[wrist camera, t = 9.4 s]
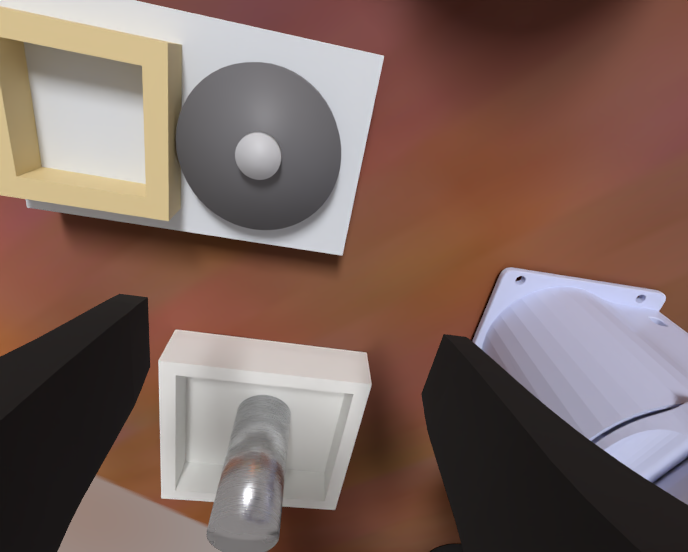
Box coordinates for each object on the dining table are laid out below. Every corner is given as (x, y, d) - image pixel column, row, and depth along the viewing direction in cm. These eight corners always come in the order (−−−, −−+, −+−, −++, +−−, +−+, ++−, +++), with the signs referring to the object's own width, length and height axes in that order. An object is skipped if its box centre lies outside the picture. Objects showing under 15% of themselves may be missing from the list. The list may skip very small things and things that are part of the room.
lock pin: (289, 394, 24) (276, 513, 18) (291, 432, 25) (280, 554, 19) (234, 395, 24) (201, 515, 17) (239, 433, 25) (211, 556, 19)
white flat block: (377, 56, 16) (390, 55, 13) (340, 238, 20) (344, 272, 17) (26, -22, 15) (-56, -45, 11) (55, 193, 18) (-1, 221, 15)
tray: (366, 352, 23) (371, 384, 21) (333, 473, 28) (335, 510, 26) (175, 329, 22) (158, 360, 20) (174, 460, 27) (161, 498, 24)
